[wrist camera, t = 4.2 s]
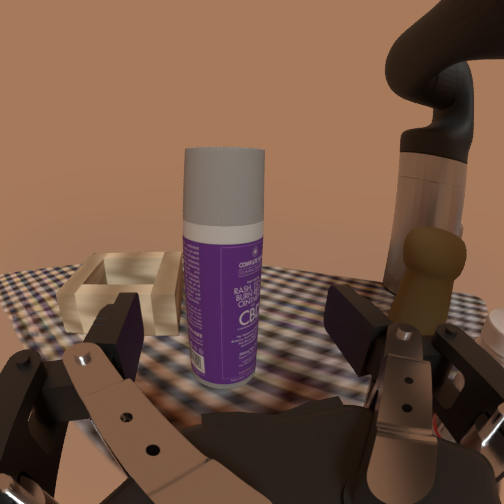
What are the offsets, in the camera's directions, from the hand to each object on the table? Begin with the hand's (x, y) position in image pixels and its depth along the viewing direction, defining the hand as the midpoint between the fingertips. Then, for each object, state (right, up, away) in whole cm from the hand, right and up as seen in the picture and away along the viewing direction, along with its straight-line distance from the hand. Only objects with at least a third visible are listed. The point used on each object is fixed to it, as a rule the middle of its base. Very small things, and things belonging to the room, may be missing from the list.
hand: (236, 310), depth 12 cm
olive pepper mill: (+14, -7, +9) cm, 18 cm away
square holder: (-12, -3, +16) cm, 20 cm away
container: (-1, -6, +8) cm, 11 cm away
